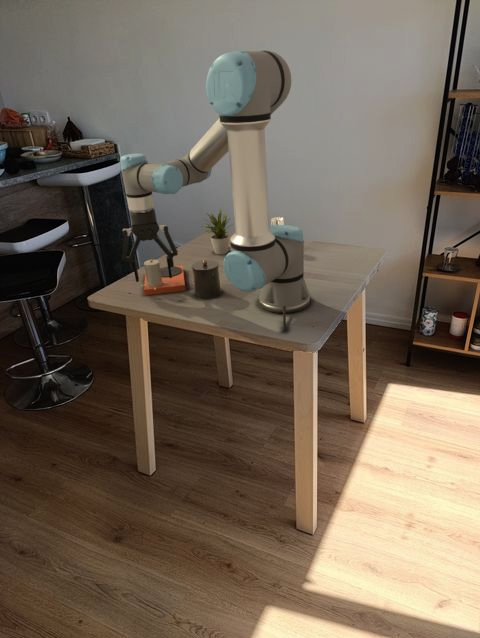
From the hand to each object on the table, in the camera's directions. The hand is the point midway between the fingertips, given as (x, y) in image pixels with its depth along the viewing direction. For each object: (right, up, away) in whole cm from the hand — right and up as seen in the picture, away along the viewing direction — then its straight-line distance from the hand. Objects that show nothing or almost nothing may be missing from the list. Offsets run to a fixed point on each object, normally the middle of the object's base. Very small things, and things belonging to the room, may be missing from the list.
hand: (154, 278), depth 155 cm
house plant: (+19, +15, +32) cm, 40 cm away
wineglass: (+41, +15, +29) cm, 53 cm away
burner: (+3, +4, +10) cm, 11 cm away
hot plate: (+2, 0, +7) cm, 7 cm away
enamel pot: (+18, -5, -2) cm, 19 cm away
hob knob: (0, -2, +1) cm, 2 cm away
